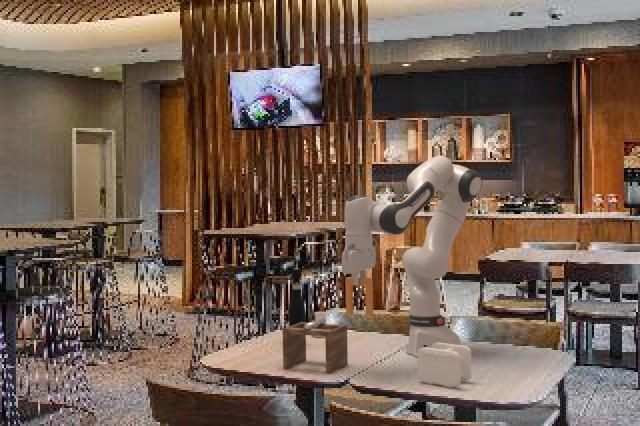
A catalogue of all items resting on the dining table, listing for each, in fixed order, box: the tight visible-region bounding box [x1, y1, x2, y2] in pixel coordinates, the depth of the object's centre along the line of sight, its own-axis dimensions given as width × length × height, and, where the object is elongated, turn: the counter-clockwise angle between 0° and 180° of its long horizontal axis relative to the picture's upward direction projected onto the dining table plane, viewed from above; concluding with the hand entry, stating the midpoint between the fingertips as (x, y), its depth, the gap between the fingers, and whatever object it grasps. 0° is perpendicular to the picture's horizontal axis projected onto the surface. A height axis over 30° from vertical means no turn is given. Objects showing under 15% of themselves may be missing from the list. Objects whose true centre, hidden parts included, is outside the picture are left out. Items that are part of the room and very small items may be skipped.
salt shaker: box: [312, 311, 327, 339], centre depth 341 cm, size 8×8×10 cm
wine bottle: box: [288, 268, 306, 327], centre depth 323 cm, size 6×6×30 cm
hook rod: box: [304, 318, 327, 330], centre depth 287 cm, size 2×13×2 cm, turn 153°
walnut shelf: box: [282, 321, 349, 375], centre depth 287 cm, size 18×14×14 cm
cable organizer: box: [417, 342, 472, 389], centre depth 262 cm, size 15×11×12 cm
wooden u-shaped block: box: [344, 276, 374, 317], centre depth 278 cm, size 9×2×12 cm, turn 63°
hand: (359, 284), depth 278 cm, fingers closed on wooden u-shaped block, 2 cm apart
